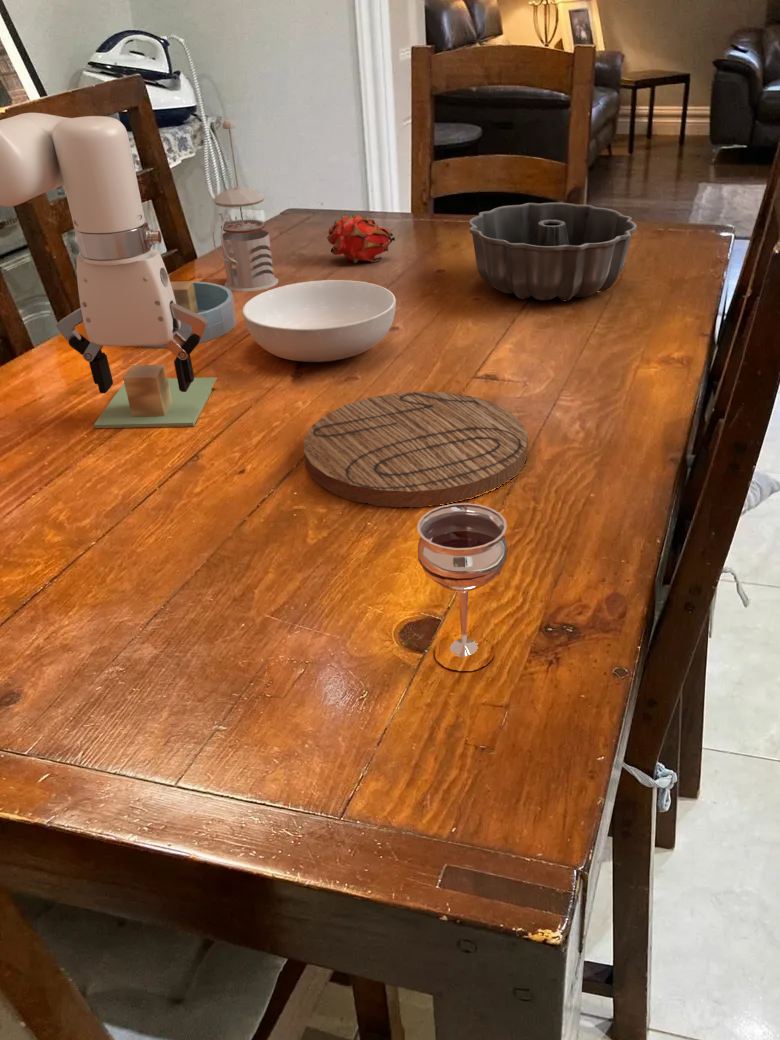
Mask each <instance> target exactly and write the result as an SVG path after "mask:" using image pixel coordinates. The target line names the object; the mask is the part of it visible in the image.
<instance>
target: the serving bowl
mask: <svg viewBox="0 0 780 1040" xmlns="http://www.w3.org/2000/svg"><path fill="white" fill-rule="evenodd" d="M396 306H397V299H396V296H395V295H394V293H393V292H392V291H391V290H389V289H387V288H386V287H384V286H381V285H378V284H376V283H371V282H366V281H361V280H348V279H321V280H311V281H310V280H309V281H302V282H296V283H290V284H285V285H282V286H279V287H274V288H271V289H269V290H265V291H263V292H261V293H259V294H257V295H255V296H253V297H252V298H250V299H249V300H247V302H246V303H245V304H243V307H242V310H241V314H242V318H243V320H244V324H245V326H246V328H247V332H248V333H249V334H250V336H251V337H252V339H253V340H254V342H255V343H256V344H257V345H258V346H260V347H261V348H262V349H263V350H265V351H266V352H268V353H270V354H272V355H274V356H276V357H278V358H282V359H285V360H290V361H295V362H303V363H304V362H305V363H306V362H307V363H328V362H334V361H339V360H345V359H349V358H351V357H355V356H358V355H361V354H363V353H365V352H368V351H369V350H371V349H372V348H374V347H375V346H377V345H378V344H379V343H380V342H382V340H383V339H384V338H385V337H386V336H387V334H388V333H389V331H390V330H391V327H392V325H393V324H394V323H393V322H394V319H395V314H396Z"/></svg>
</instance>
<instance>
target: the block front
mask: <svg viewBox="0 0 780 1040" xmlns="http://www.w3.org/2000/svg"><path fill="white" fill-rule="evenodd" d="M168 378H169V377H168V374H167V370H166V365H165V364H133V365H131V366H130V367H129V369H128V370H127V372H126V373H125V374H124V375H123V377H122V380H123V384H125V388H126V392H127V397H128V401H129V405H130V409H131V413H132V417H140V416H165V415H166V413H167V411H168V409H169V408H170V406H171V404H172V403H173V402H172V397H171V393H170V388H169V383H168Z"/></svg>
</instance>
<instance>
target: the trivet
mask: <svg viewBox="0 0 780 1040" xmlns="http://www.w3.org/2000/svg"><path fill="white" fill-rule="evenodd" d="M527 449H528V450H529V433H528V431H527V429H526V426H525V425H524V422H523V421H522V420H521V419H520V418H519V417H518V416H517V415H515V414H514V413H513V412H512V411H511V410H509V409H507V408H504V407H502V406H501V405H498V404H497V403H494V402H492V401H489V400H485V399H482V398H479V397H475V396H472V395H465V394H459V393H452V392H445V391H444V392H443V391H442V392H441V391H440V392H439V391H409V392H395V393H389V394H383V395H378V396H372V397H367V398H364V399H361V400H358V401H357V400H356V401H353V402H350V403H348V404H345V405H342V406H340V407H339V408H336V409H334V410H332V411H330V412H328V413H326V414H324V415H323V416H322V417H321V418H319V420H317V421H316V422H315V423H313V424H312V425H311V426H310V428H309V430H308V431H307V433H306V435H305V436H304V437H303V456H304V464H305V468H306V470H307V472H308V474H309V475H310V477H311V479H312V480H313V481H314V482H315V483H317V484H318V485H319V486H321V487H322V488H323V487H324V488H323V489H325V490H326V489H327V490H326V491H327V492H329V493H331V494H333V495H336V496H339V497H341V498H344V499H346V498H347V500H349V501H352V502H357V503H361V502H362V503H361V504H366V503H368V504H367V505H371V504H372V506H376V507H383V508H385V506H386V508H402V507H410V508H409V509H413V508H412V507H417V508H421V507H420V506H429V505H440V504H447V503H451V502H455V501H459V500H463V499H466V498H471V497H475V496H476V495H479V494H482V493H484V492H486V491H489V490H492V489H494V488H497V487H499V486H500V485H502V484H503V483H505V482H506V481H507V480H509V479H510V478H512V477H513V476H515V475H516V474H517V472H518V471H519V469H520V468H521V467H522V465H523V464H524V463H525V461H526V462H527V457H526V455H527V456H528V451H527ZM525 464H526V463H525ZM519 472H520V471H519ZM517 475H518V474H517ZM517 475H516V476H517ZM447 505H448V504H447ZM389 506H390V507H389Z"/></svg>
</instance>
